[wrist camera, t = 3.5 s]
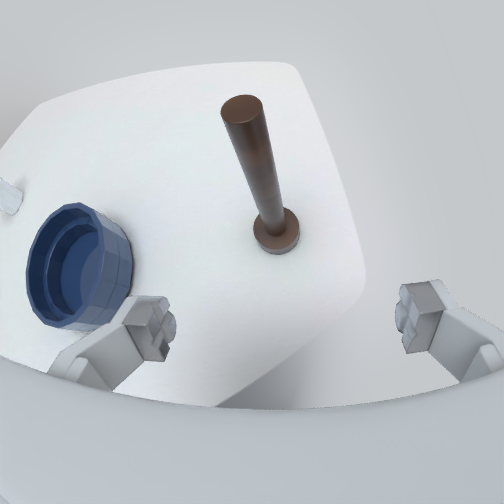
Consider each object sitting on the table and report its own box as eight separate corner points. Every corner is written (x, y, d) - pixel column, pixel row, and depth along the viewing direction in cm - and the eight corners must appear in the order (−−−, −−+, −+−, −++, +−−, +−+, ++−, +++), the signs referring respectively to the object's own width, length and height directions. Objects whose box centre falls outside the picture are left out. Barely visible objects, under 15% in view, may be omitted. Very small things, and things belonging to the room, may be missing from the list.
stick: (308, 233, 29) (308, 104, 11) (277, 263, 28) (235, 161, 11) (278, 206, 30) (245, 69, 13) (247, 233, 30) (179, 116, 13)
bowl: (156, 277, 30) (126, 265, 25) (83, 352, 29) (49, 352, 24) (105, 200, 35) (78, 181, 29) (46, 270, 34) (17, 260, 28)
